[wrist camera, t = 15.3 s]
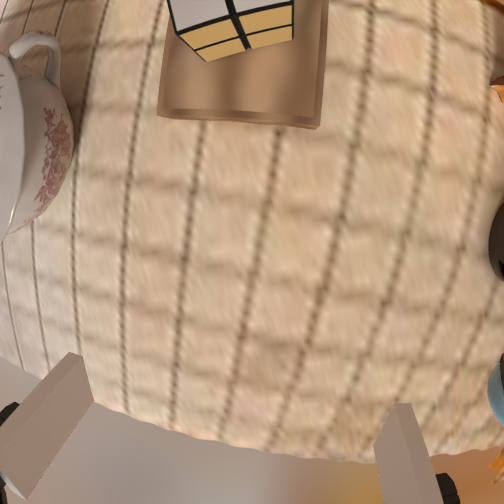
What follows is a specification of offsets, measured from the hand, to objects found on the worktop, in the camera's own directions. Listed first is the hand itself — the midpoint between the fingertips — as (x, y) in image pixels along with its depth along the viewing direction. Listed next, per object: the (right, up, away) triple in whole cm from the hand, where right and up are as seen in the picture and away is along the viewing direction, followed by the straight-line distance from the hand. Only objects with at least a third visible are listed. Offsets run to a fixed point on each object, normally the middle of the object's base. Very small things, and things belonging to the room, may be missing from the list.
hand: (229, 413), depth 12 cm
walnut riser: (+1, +31, +23) cm, 39 cm away
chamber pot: (-33, +24, +30) cm, 51 cm away
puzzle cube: (-1, +32, +17) cm, 37 cm away
